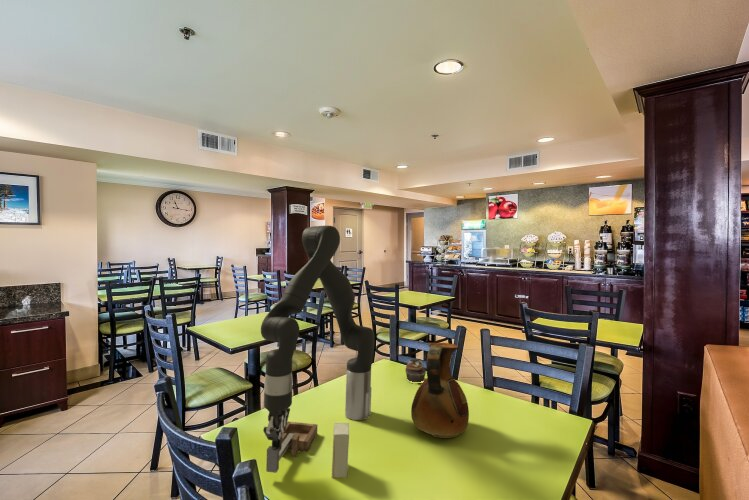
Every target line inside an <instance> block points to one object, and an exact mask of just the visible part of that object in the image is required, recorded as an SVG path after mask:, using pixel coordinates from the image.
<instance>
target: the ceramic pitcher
mask: <svg viewBox="0 0 749 500" xmlns="http://www.w3.org/2000/svg"><path fill="white" fill-rule="evenodd" d="M427 345H428V347H429V349H428V351H427V354H426V361H425V364H426V367H425V368H426V377H427V378H426V379H424V382H423V383H421V384H419V387H418V388H417V390H416V392H415V394H414V398H413V401H412V403H411V407H410V408H411V409H410V414H411V416H410V417H411V419H412V423H413V424H414V426H415V427H416V428H417V429H418V430H419V431H422V432H424V433H426V434H428V435H432V436H433V437H435V438H441V439H450V438H454V437H456V436H459V435H461V434H463V433H464V432H465V431H466V430H467V428H468V425H469V418H470V411H469V403H468V400H467V396H466V393H465V391H464V390H463V388H462V387H461V385H460V384H459V383H458V381H456V379H455V378H453V376H452V372H451V362H452V356H453V354H454V353H455V352H456V350H459V346H458V345H456V344H452V343H449V342H427Z"/></svg>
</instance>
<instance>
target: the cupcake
mask: <svg viewBox="0 0 749 500" xmlns="http://www.w3.org/2000/svg"><path fill="white" fill-rule="evenodd" d="M405 374H406V380H407V379H408V380H409V381H412V382H421V381H423V380H425V377H426V375H427V370H426V369H425V366H424V364H423V361H422V359H420V358H418V359H415V358H413V357H412V358H411V359H410V360H409V361H408V363H406V365H405Z"/></svg>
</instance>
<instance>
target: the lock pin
mask: <svg viewBox="0 0 749 500" xmlns="http://www.w3.org/2000/svg"><path fill="white" fill-rule="evenodd" d="M293 437H294V434H293V433H289V434H288V436H287V437H286V439H285V440H284V441H283V443H282V446H281V450H280V451H279V447H274V446H272V445H269V446H268V447H267V449H266V466H265V467H266V468H265V470H266V472H267V473H278V471H279V469H280V460H281V459H282V457H283V456H284V454H285V453H286V451H288V450H287V448H288V447H289V445H290V444H291V442H292V439H293Z"/></svg>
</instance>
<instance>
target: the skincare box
mask: <svg viewBox="0 0 749 500" xmlns="http://www.w3.org/2000/svg"><path fill="white" fill-rule="evenodd" d="M332 435H333V439H332V441H333V442H332V462H331V478H347V477H348V463H349V461H348V460H349V447H350V446H349V444H350V442H349V441H350V424H349V422H334V423H333V434H332Z"/></svg>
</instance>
